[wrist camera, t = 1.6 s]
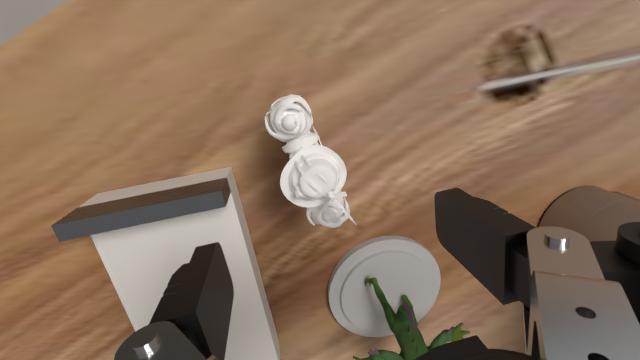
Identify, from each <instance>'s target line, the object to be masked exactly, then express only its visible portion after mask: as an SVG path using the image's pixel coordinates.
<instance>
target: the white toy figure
mask: <svg viewBox="0 0 640 360" xmlns="http://www.w3.org/2000/svg"><path fill="white" fill-rule="evenodd" d="M279 100H281V101H280V102H278V103H276V102H277V101H279ZM275 103H276V104H275ZM274 104H275V105H274ZM273 105H274V106H273ZM269 111H270V112H267V113H266V116H265V126H266V129H267V131H268V132H269V134H270V135H271V136H273V137H274V138H276V139H279V140H280V141H282V142H287V144H286V145H285V146H283V147H282V149H283V151H284V152H285V153H289V156H290V157H289V161H288V163H287V164H286V165H285V167H284V169H283V171H282V174H281V178H280V186H281V190H282V192H283V194H284V195H285V197H286V198H287V199H288V200H289V201H291V202H292V203H293V204H296V205H298V206H301V207H307V212H306V215H307V219H308V221H309V222H310V223H311V224H312V225H314V226H315V224H322V225H323V226H324V227H330V228H337V227H339V226H341V225H342V223H344V222H345V221H346V220H347V219H350V220H351V221H352V222H353V223H354V224H355V225H357V224H356V223H355V222H354V220H353V218H352V217H351V216H350V210H349V205H348V203H347V202H346V199H345V196H347V194H346V192H342V191H341V188H342V187H343V185H344V183H345V181H346V175H347V171H346V167H345V164H344V162H343V160H342V159H341V158H340V157H339V156H338V155H337V154H336V153H335V152H334V151H332V150H331V149H329V148H327V147H325V146H322V144H321V141H320V138H319V136H318V133H317V132H316V131H315V129H314V127H313V125H312V123H313V118H312V114H311V109H310V107H309V105H308V104H307V102H306V101H305V100H304V99H303V98H302V97H301V96H299V95H291V94H290V95H288V96H285V97H281V98H279V99H278V100H276V101H275V102H273V104H272V105H271V108H270V110H269ZM268 113H270V122H271V124H272V127H273V129H274V130H275V132H276V133H275V132H274V131H273V129H272V127H271V125H270V122H269V119H268V115H267V114H268ZM309 113H310V114H309ZM310 116H311V117H310ZM266 117H267V118H266ZM267 121H268V122H267ZM268 124H269V125H268ZM311 125H312V130H313V133H311V132H310V129H311ZM269 126H270V127H269ZM270 128H271V129H270ZM339 191H340V192H339ZM343 198H344V199H343ZM344 201H345V203H344ZM345 204H346V209H345ZM310 212H312V215H311V213H310ZM310 216H311V218H312V219H313V221H314V222H315V224H314V223H313V221H312V220H311V218H310ZM317 222H318V223H317Z"/></svg>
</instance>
